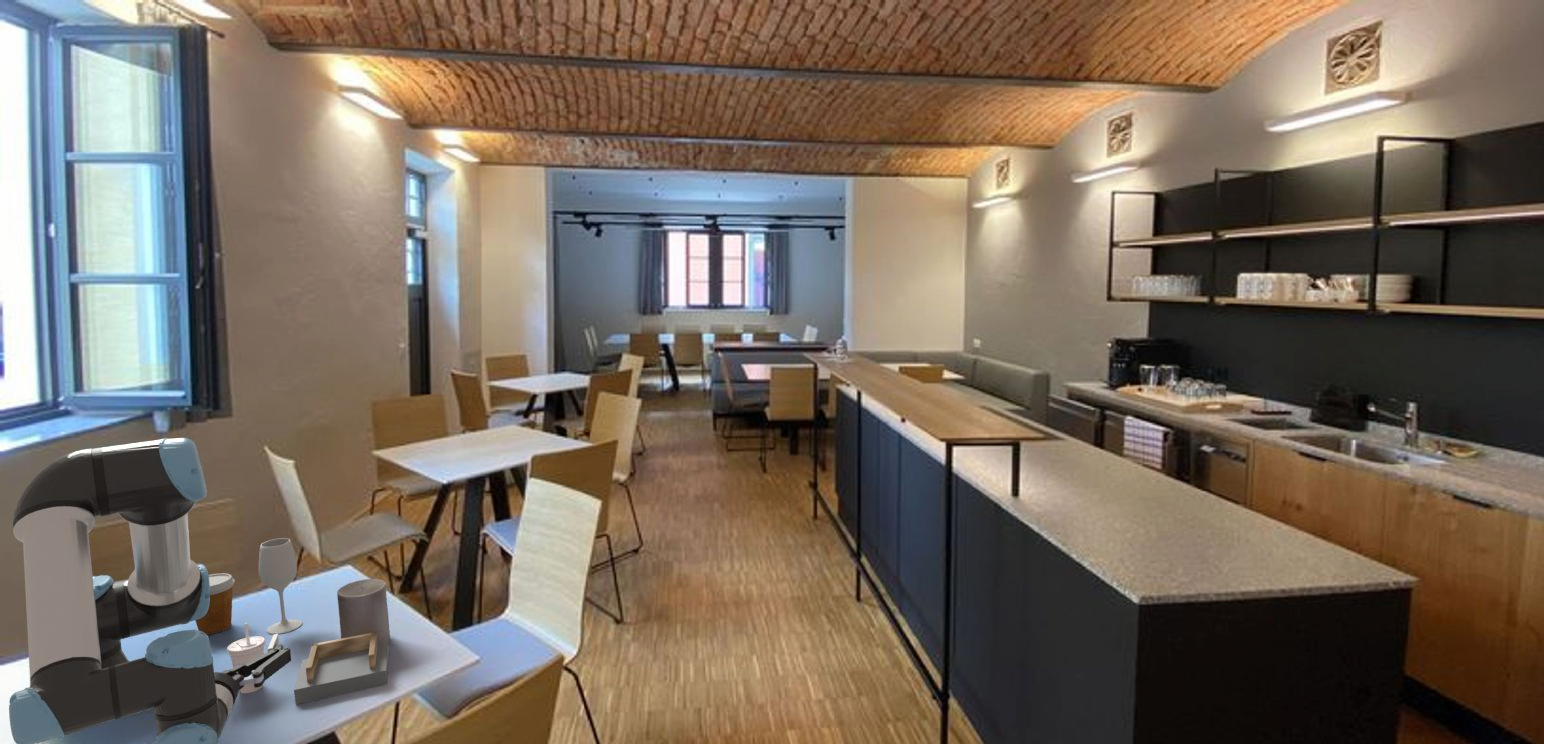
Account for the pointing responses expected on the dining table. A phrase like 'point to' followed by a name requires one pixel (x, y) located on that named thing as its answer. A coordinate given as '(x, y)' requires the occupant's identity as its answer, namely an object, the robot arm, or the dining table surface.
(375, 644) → the bay walls
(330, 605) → the dining table surface
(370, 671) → the dock
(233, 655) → the smoothie
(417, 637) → the dining table surface
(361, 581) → the pillar candle
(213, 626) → the disposable coffee cup
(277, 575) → the wineglass
